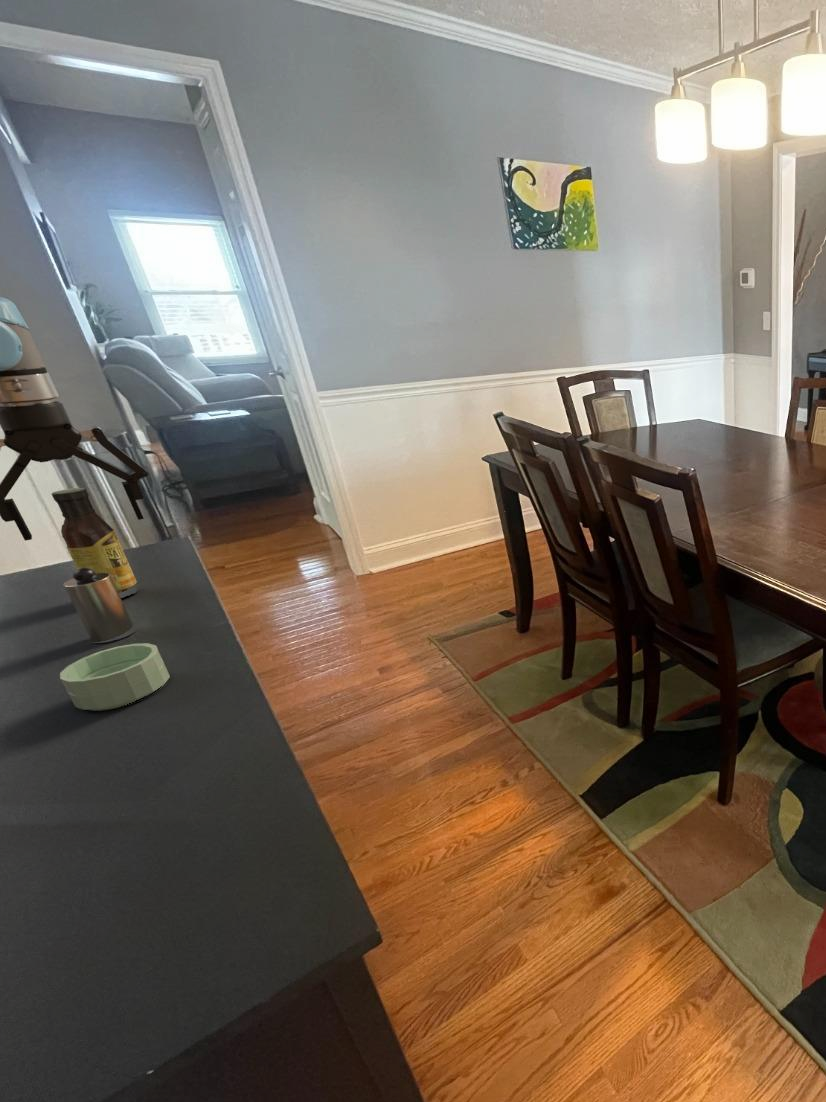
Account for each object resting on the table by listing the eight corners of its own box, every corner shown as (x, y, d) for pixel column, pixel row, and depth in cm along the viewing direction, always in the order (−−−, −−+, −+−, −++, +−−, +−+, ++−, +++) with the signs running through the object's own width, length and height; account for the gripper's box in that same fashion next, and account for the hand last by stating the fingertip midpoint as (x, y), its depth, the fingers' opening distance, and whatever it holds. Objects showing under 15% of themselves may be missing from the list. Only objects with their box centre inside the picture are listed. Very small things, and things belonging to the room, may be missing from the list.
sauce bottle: (136, 598, 107) (88, 492, 100) (88, 607, 104) (34, 498, 96) (144, 585, 112) (98, 483, 105) (98, 593, 109) (47, 489, 101)
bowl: (56, 714, 77) (37, 682, 75) (122, 674, 85) (107, 644, 83) (130, 712, 77) (113, 680, 75) (188, 672, 85) (175, 642, 83)
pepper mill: (82, 644, 93) (47, 575, 88) (112, 628, 97) (80, 562, 93) (116, 643, 93) (82, 575, 88) (144, 627, 97) (114, 561, 93)
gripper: (-107, 415, 84) (-27, 553, 93) (135, 396, 101) (184, 514, 109) (-99, 409, 89) (-23, 542, 97) (131, 392, 105) (178, 506, 114)
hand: (87, 527), depth 103 cm, fingers open, 13 cm apart
